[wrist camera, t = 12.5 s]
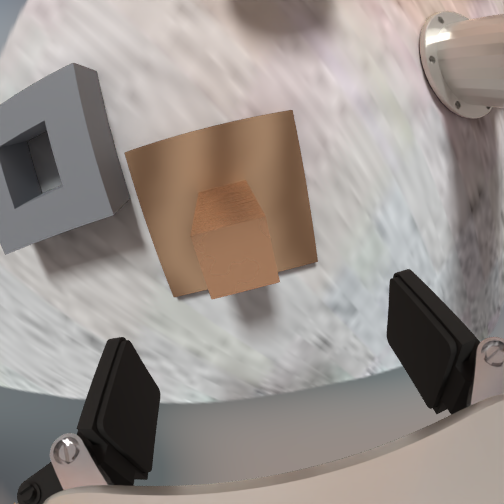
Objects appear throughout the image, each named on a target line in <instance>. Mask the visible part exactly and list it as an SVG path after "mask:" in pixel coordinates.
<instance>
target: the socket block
mask: <svg viewBox="0 0 504 504" xmlns="http://www.w3.org/2000/svg"><path fill="white" fill-rule="evenodd" d="M45 131H47V132H48V136H49V140H50V144H51V148H52V152H53V155H54V159H55V162H56V166H57V169H58V172H59V176H60V179H61V182H62V185H61V186H58V187H56V188H54V189H51V190H49V191H47V192H45V193H42V192H41V189H40V185H39V182H38V179H37V176H36V173H35V169H34V166H33V162H32V159H31V155H30V151H29V147H28V143H27V141H29V140H30V139H32V138H34V137H36V136H38V135H40V134H42V133H44V132H45ZM129 199H130V196H129V193H128V189H127V186H126V183H125V180H124V177H123V173H122V170H121V167H120V163H119V160H118V156H117V153H116V149H115V146H114V142H113V138H112V134H111V131H110V127H109V123H108V119H107V115H106V111H105V107H104V102H103V98H102V94H101V89H100V85H99V80H98V75H97V71H95V70H92V69H90V68H87V67H84V66H81V65H78V64H76V63H71V64H69V65H67V66H65V67H63V68H61V69H59V70H57V71H56V72H54V73H52V74H50V75H48V76H46V77H44V78H43V79H41V80H39V81H37V82H36V83H34V84H32V85H30V86H29V87H27V88H25V89H24V90H22V91H21V92H19V93H17V94H16V95H14V96H13V97H11V98H10V99H8V100H7V101H5V102H4V103H2V104H1V105H0V244H1V246H2V248H3V251H4V253H5V255H6V254H8V253H11V252H13V251H16V250H18V249H21V248H23V247H26V246H28V245H31V244H34V243H36V242H39V241H41V240H44V239H47V238H49V237H52V236H55V235H58V234H60V233H63V232H66V231H69V230H71V229H74V228H77V227H80V226H83V225H86V224H89V223H92V222H95V221H98V220H101V219H104V218H107V217H110V216H113V215H114V214H115V213H116V212H117V211H118V210H119V209H120V208H121V207H122V206H123V205H124V204H125V203H126V202H127V201H128V200H129Z"/></svg>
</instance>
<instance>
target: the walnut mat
mask: <svg viewBox="0 0 504 504" xmlns="http://www.w3.org/2000/svg"><path fill="white" fill-rule="evenodd" d="M125 156H126V160H127V163H128V167H129V170H130V173H131V177H132V180H133V183H134V187H135V190H136V193H137V196H138V199H139V202H140V206H141V209H142V212H143V215H144V218H145V221H146V224H147V226H148V229H149V232H150V235H151V238H152V241H153V244H154V246H155V249H156V252H157V255H158V257H159V260H160V263H161V265H162V268H163V271H164V273H165V276H166V279H167V281H168V284H169V286H170V289H171V291H172V294H173V296H174V297H178V296H182V295H186V294H191V293H195V292H199V291H203V290H207V289H208V287H207V284H206V282H205V279H204V276H203V273H202V270H201V267H200V264H199V261H198V258H197V255H196V252H195V249H194V246H193V242H192V239H191V230H192V224H193V219H194V213H195V208H196V203H197V197H198V192H202V191H205V190H209V189H213V188H217V187H220V186H224V185H228V184H232V183H236V182H240V181H244V180H246V181H247V183H248V185H249V187H250V189H251V190H252V192H253V194H254V196H255V198H256V199H257V201H258V203H259V205H260V207H261V209H262V210H263V212H264V214H265V216H266V220H267V224H268V229H269V233H270V238H271V243H272V247H273V252H274V257H275V261H276V266H277V271H278V272H280V271H284V270H288V269H292V268H296V267H299V266H303V265H307V264H311V263H315V262H318V259H317V252H316V244H315V237H314V230H313V223H312V217H311V210H310V204H309V197H308V191H307V185H306V179H305V174H304V168H303V162H302V157H301V151H300V146H299V141H298V136H297V130H296V125H295V120H294V115H293V111H292V110H289V111H283V112H277V113H272V114H266V115H261V116H256V117H251V118H246V119H242V120H237V121H233V122H228V123H224V124H220V125H216V126H212V127H208V128H204V129H200V130H196V131H193V132H189V133H185V134H182V135H178V136H175V137H171V138H168V139H165V140H161V141H158V142H155V143H152V144H149V145H145V146H142V147H139V148H136V149H133V150H130V151H127V152H125Z"/></svg>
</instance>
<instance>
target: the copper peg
mask: <svg viewBox="0 0 504 504" xmlns="http://www.w3.org/2000/svg"><path fill="white" fill-rule="evenodd" d="M191 239H192V242H193V246H194V249H195V252H196V255H197V258H198V261H199V264H200V267H201V270H202V273H203V276H204V279H205V282H206V284H207V287H208V290H209V293H210V296H211V299H216V298H220V297H224V296H228V295H232V294H236V293H240V292H244V291H248V290H251V289H255V288H259V287H263V286H267V285H271V284H275V283H278V282H280V280H279V275H278V271H277V266H276V261H275V257H274V252H273V247H272V243H271V238H270V233H269V229H268V224H267V220H266V216H265V214H264V212H263V210H262V209H261V207H260V205H259V203H258V201H257V199H256V198H255V196H254V194H253V192H252V190H251V189H250V187H249V185H248V183H247V181H246V180H244V181H240V182H236V183H232V184H228V185H224V186H220V187H217V188H213V189H209V190H205V191H202V192H198V197H197V203H196V208H195V213H194V219H193V224H192V230H191Z"/></svg>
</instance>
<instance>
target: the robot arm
mask: <svg viewBox="0 0 504 504" xmlns="http://www.w3.org/2000/svg"><path fill="white" fill-rule="evenodd" d="M420 55H421V60H422V65H423V68H424V71H425V74H426V76H427V79H428V81H429V83H430V85H431V87H432V89H433V90H434V92H435V94H436V95H437V97H438V98H439V99H440V101H441V102H442V103H443V104H444V105H445V106H446V107H447V108H448V109H449V110H451V111H452V112H454V113H455V114H457V115H459V116H462V117H466V118H480V117H483V116H485V115H486V114H488V113H489V112H490V110H491V109H492V108H493V107H497V108H504V14H499V15H493V16H487V17H481V18H476V19H470V20H469V19H468V18H466V17H464V16H463V15H461V14H458V13H456V12H451V11H443V12H439V13H436V14H433V15H432V16H430V17H429V18H428V19H427V20H426V22H425V23H424V25H423V28H422V30H421V35H420ZM387 340H388V343H389V345H390V346H391V348H392V349H393V351H394V352H395V354H396V356H397V357H398V359H399V360H400V362H401V364H402V365H403V367H404V368H405V370H406V372H407V373H408V375H409V377H410V378H411V380H412V381H413V383H414V384H415V386H416V388H417V389H418V391H419V393H420V394H421V396H422V398H423V400H424V401H425V403H426V405H427V406H428V407H429V408H430V409H431V408H433V409H434V411H435V412H436V414H438V413H440V412H442V411H444V410H446V409H448V410H449V412H450V413H451V415H450V416H448V417H446V418H444V419H442V420H440V421H438V422H436V423H434V424H432V425H429V426H427V427H425V428H422V429H420V430H418V431H415V432H413V433H411V434H409V435H406V436H404V437H401V438H399V439H396V440H394V441H392V442H389V443H386V444H384V445H381V446H378V447H376V448H373V449H370V450H367V451H364V452H361V453H358V454H355V455H352V456H349V457H346V458H342V459H339V460H336V461H332V462H329V463H325V464H321V465H317V466H313V467H309V468H306V469H301V470H297V471H292V472H287V473H282V474H278V475H272V476H267V477H261V478H255V479H248V480H240V481H232V482H224V483H214V484H202V485H185V486H184V485H183V486H134V485H133V484H134V479H145V480H147V478H148V472H150V471H151V470H152V462H153V453H154V443H155V434H156V425H157V418H158V410H159V403H160V390H159V388H158V386H157V385H156V383H155V382H154V380H153V378H152V377H151V375H150V374H149V372H148V370H147V369H146V367H145V365H144V364H143V362H142V360H141V359H140V357H139V355H138V354H137V352H136V350H135V348H134V347H133V345H132V343H131V342H130V341H129V340H126V339H125V338H124V337H119V338H113V339H109V340H108V341H107V343H106V346H105V348H104V351H103V353H102V356H101V359H100V361H99V364H98V367H97V369H96V372H95V375H94V378H93V381H92V383H91V386H90V389H89V392H88V395H87V398H86V401H85V404H84V407H83V410H82V413H81V416H80V420H79V423H78V426H77V429H78V433H77V435H76V434H71V433H68V434H64V435H62V436H60V437H59V438H58V439H56V440H55V442H54V443H53V444H52V447H51V449H50V459H51V462H50V463H49V464H48V465H46V466H45V467H44V468H42V469H41V470H39V471H38V472H37V473H35V474H34V475H32V476H31V477H30V478H28V479H27V480H26V481H24V482H23V483H22V484H21V486H20V487H19V489H18V493H17V499H18V504H504V339H502V338H498V337H489V338H486V339H484V340H483V341H481V342H480V341H479V340H478V339H477V338H476V337H475V336H474V335H473V333H472V332H471V331H470V330H469V329H468V328H467V327H466V326H465V325H464V324H463V322H462V321H461V320H460V319H459V318H458V317H457V316H456V315H455V314H454V313H453V312H452V311H451V310H450V309H449V308H448V307H447V306H446V304H445V303H444V302H443V301H442V300H441V299H440V298H439V297H438V296H437V295H436V294H435V293H434V292H433V291H432V290H431V289H430V288H429V287H428V286H427V285H426V284H425V283H424V282H423V281H422V280H421V279H420V278H419V277H418V276H417V275H415V274H414V273H413V272H412V271H411V270H410V269H407V270H404V271H401V272H397V273H395V274H394V276H393V278H392V279H390V287H389V309H388V325H387ZM14 504H16V503H15V502H14Z"/></svg>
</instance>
